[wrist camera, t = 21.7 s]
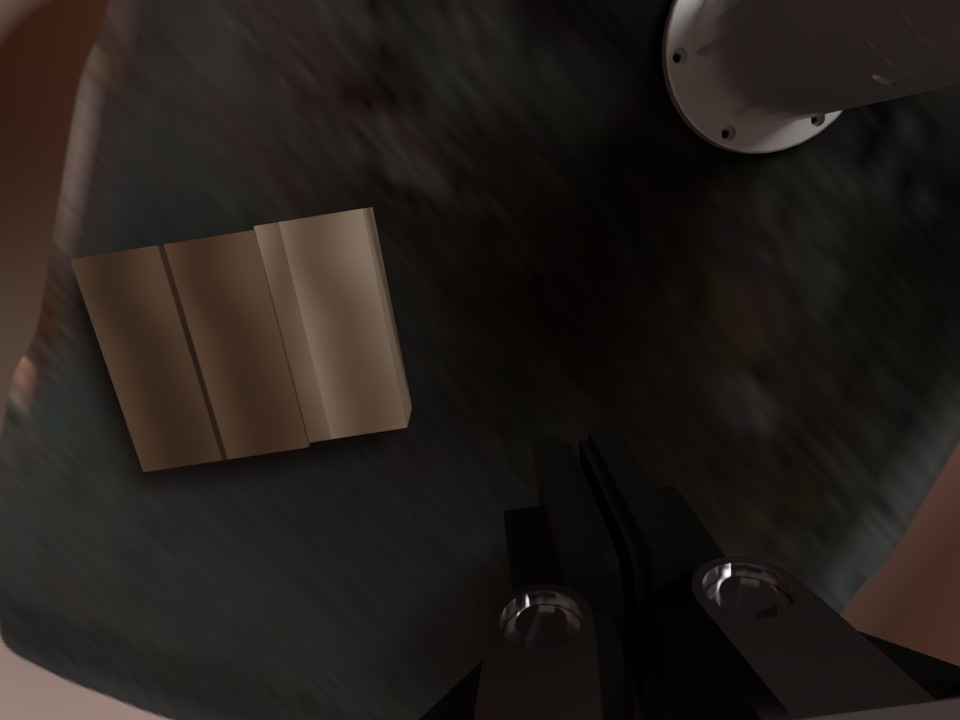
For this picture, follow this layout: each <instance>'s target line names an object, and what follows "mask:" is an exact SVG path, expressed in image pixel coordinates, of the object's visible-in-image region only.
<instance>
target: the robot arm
mask: <svg viewBox="0 0 960 720" xmlns="http://www.w3.org/2000/svg"><path fill="white" fill-rule="evenodd" d="M673 55H677V56H678V59H679V60H678V62H677V63H675V62H674V61H673V58H672V57H673ZM662 69H663V74H664V79H665V84H666V88H667V91H668V93H669V96H670V98H671V101H672V103H673V106H674V107H675V109H676V110H677V112H678V113H679V115H680V116H681V118H682V120H683V121H684V122H685V123H686V124H687V125H688V126H689V127H690V128H691V129H692V130H693V131H694V132H695V133H696V134H697V135H698V136H699V137H701V138H702V139H704V140H705V141H707V142H709V143H710V144H712V145H714V146H716V147H719V148H721V149H724V150H727V151H729V152H736V153H743V154H760V153H770V152H775V151H781V150H785V149H787V148H790V147H793V146H796V145H798V144H801V143H803V142H805V141H806V140H808V139H810V138H812V137H813V136H815V135H817V134H818V133H820V132H821V131H822V130H823V129H825V128H826V127H827V126H828V125H829V124H831V123H832V122H833V121H834V120H835V119H836V118H837V117H838V116H839V115H840V114H841V113H842V111H843V110H846V109H850V108H854V107H859V106H863V105H868V104H872V103H877V102H881V101H886V100H890V99H894V98H899V97H903V96H908V95H912V94H917V93H921V92H925V91H930V90H934V89H939V88H943V87H948V86H952V85H957V84H960V0H673V1H672V4H671V7H670V10H669V13H668V16H667V19H666V22H665V27H664V34H663V40H662ZM811 117H812V118H813V123H811ZM723 130H724V131H725V132H726V137H725V138H722V131H723ZM532 450H533V457H534V464H535V472H536V479H537V486H538V493H539V500H540V506H534V507H527V508H521V509H514V510H507V511H504V520H505V528H506V537H507V546H508V554H509V563H510V571H511V580H512V589H513V592H511V593H510V594H508V595H507V596H505V597H504V598H502V599H501V600H500V601H499V603H498V604H497V605H496V606H495V607H494V608H493V610H492V613H491V616H490V618H489V622H488V629H487V635H486V642H485V648H484V655H483V660H482V661H481V662H480V663H479V664H478V665H477V666H476V667H475V668H474V669H473V670H471V671H470V672H469V673H468V674H467V675H466V676H465V677H464V678H463V679H462V680H461V681H460V682H459V683H458V684H457V685H456V686H455V687H453V688H452V689H451V690H450V691H449V692H448V693H447V694H446V695H445V696H444V697H443V698H442V699H441V700H440V701H439V702H438V703H437V704H435V705H434V706H433V707H432V708H431V709H430V710H429V711H428V712H427V713H426V714H425V715H424V716H423V717H422V718H421V719H420V720H636V718H635V708H634V698H633V690H634V693H635V696H636V699H637V702H638V705H639V708H640V711H641V714H642V717H643V720H960V667H959V666H957V665H954V664H951V663H948V662H945V661H942V660H939V659H936V658H934V657H931V656H928V655H925V654H922V653H919V652H916V651H914V650H911V649H908V648H905V647H902V646H899V645H897V644H894V643H891V642H888V641H885V640H882V639H879V638H877V637H874V636H871V635H868V634H865V633H862V632H859V631H857V630H856V629H855V628H854V627H853V626H851V625H850V624H849V623H848V622H847V621H846V620H845V619H843V618H842V617H841V616H840V615H839V614H838V613H837V612H836V611H834V610H833V609H832V608H831V607H830V606H829V605H828V604H826V603H825V602H824V601H823V600H822V599H821V598H820V597H818V596H817V595H816V594H815V593H814V592H813V591H812V590H811V589H809V588H808V587H807V586H806V585H805V584H804V583H803V582H801V581H800V580H799V579H798V578H797V577H796V576H794V575H793V574H791V573H790V572H788V571H787V570H786V569H784V568H783V567H780V566H778V565H776V564H773V563H771V562H768V561H765V560H761V559H756V558H752V557H739V556H731V557H725V555H724V554H723V553H722V551H721V550H720V548H719V547H718V546H717V544H716V543H715V541H714V540H713V539H712V537H711V536H710V534H709V533H708V532H707V530H706V529H705V527H704V526H703V525H702V523H701V522H700V520H699V519H698V518H697V516H696V515H695V513H694V512H693V511H692V509H691V508H690V506H689V505H688V504H687V502H686V501H685V499H684V498H683V497H682V495H681V494H680V492H679V491H678V490H677V489H676V488H675V487H674V486H669V487H663V488H656V489H655V487H654V485H653V484H652V482H651V481H650V479H649V478H648V476H647V474H646V473H645V471H644V470H643V468H642V467H641V465H640V464H639V462H638V460H637V459H636V457H635V456H634V454H633V453H632V451H631V450H630V448H629V446H628V445H627V443H626V442H625V440H624V439H623V437H622V436H621V434H620V432H619V431H618V430H617V428H614V429H608V430H601V431H594V432H589V433H588V440H584V441H579V453H580V461H581V465H580V462H579V460H578V458H577V455H576V453H575V451H574V448H573V446H572V444H571V442H570V443H564V444H562V443H561V441H560V438H559V437H554V438H548V439H541V440H534V441H532ZM632 687H633V688H632Z"/></svg>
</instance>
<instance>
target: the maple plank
mask: <svg viewBox="0 0 960 720" xmlns="http://www.w3.org/2000/svg"><path fill="white" fill-rule="evenodd" d="M254 229H255V233H256V237H257V241H258V245H259V249H260V253H261V257H262V261H263V264H264V268H265V272H266V276H267V280H268V284H269V288H270V292H271V296H272V299H273V303H274V307H275V311H276V315H277V319H278V323H279V327H280V331H281V334H282V338H283V342H284V346H285V350H286V354H287V358H288V362H289V366H290V369H291V373H292V377H293V381H294V385H295V389H296V393H297V397H298V401H299V405H300V408H301V412H302V416H303V420H304V424H305V428H306V432H307V436H308V440H309V443H310V442H316V441H323V440H329V439H336V438H342V437H349V436H355V435H362V434H368V433H375V432H381V431H388V430H394V429H401V428H407V426H408V422H409V418H410V414H411V410H412V404H411V399H410V394H409V389H408V384H407V379H406V374H405V369H404V364H403V359H402V354H401V349H400V344H399V339H398V334H397V329H396V324H395V319H394V314H393V309H392V304H391V299H390V294H389V289H388V284H387V279H386V274H385V269H384V264H383V259H382V254H381V249H380V244H379V239H378V234H377V229H376V224H375V219H374V214H373V209H372V207H371V208H364V209H357V210H351V211H345V212H339V213H333V214H326V215H320V216H314V217H308V218H302V219H296V220H289V221H283V222H277V223H271V224H265V225H259V226H254Z"/></svg>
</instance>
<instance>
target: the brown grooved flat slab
mask: <svg viewBox="0 0 960 720" xmlns="http://www.w3.org/2000/svg"><path fill="white" fill-rule="evenodd" d="M70 261H71V264H72V266H73V269H74V272H75V275H76V278H77V281H78V284H79V287H80V290H81V293H82V296H83V298H84V301H85V304H86V307H87V310H88V313H89V316H90V319H91V322H92V325H93V327H94V330H95V333H96V336H97V339H98V342H99V345H100V348H101V351H102V354H103V357H104V359H105V362H106V365H107V368H108V371H109V374H110V377H111V380H112V383H113V386H114V388H115V391H116V394H117V397H118V400H119V403H120V406H121V409H122V412H123V415H124V418H125V420H126V423H127V426H128V429H129V432H130V435H131V438H132V441H133V444H134V447H135V449H136V452H137V455H138V458H139V461H140V464H141V467H142V470H143V472H148V471H155V470H162V469H168V468H175V467H181V466H188V465H195V464H201V463H208V462H214V461H221V460H223V461H224V460H228V459H234V458H241V457H248V456H254V455H261V454H267V453H274V452H281V451H287V450H294V449H300V448H307V447H309V445H310V444H311V442H310V443H309V440H308V436H307V432H306V428H305V424H304V420H303V416H302V412H301V408H300V405H299V401H298V397H297V393H296V389H295V385H294V381H293V377H292V373H291V369H290V366H289V362H288V358H287V354H286V350H285V346H284V342H283V338H282V334H281V331H280V327H279V323H278V319H277V315H276V311H275V307H274V303H273V299H272V296H271V292H270V288H269V284H268V280H267V276H266V272H265V268H264V264H263V261H262V257H261V253H260V249H259V245H258V241H257V237H256V233H255V230H250V231H244V232H238V233H231V234H225V235H219V236H213V237H206V238H200V239H194V240H187V241H181V242H175V243H169V244H162V245H156V246H150V247H144V248H137V249H131V250H125V251H118V252H112V253H106V254H100V255H94V256H88V257H81V258H75V259H70Z"/></svg>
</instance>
